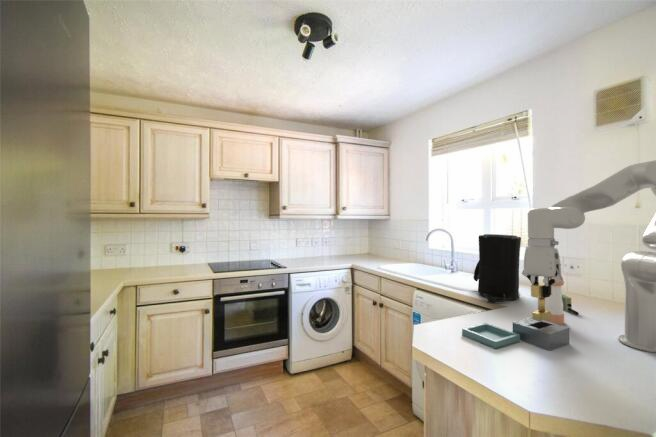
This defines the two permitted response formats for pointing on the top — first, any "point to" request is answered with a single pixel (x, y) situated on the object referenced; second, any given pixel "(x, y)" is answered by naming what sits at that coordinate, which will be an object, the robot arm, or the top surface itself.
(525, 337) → the block
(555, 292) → the pepper shaker
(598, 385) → the top surface
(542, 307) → the t key
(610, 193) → the robot arm
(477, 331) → the tray
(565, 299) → the handheld radio
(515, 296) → the black backpack
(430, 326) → the top surface
